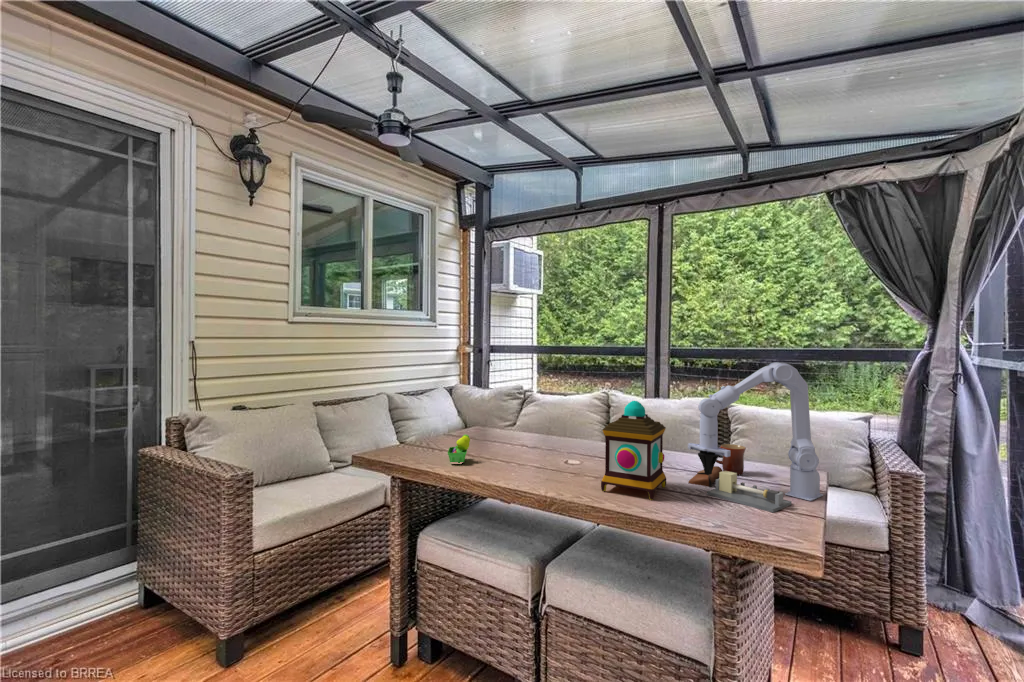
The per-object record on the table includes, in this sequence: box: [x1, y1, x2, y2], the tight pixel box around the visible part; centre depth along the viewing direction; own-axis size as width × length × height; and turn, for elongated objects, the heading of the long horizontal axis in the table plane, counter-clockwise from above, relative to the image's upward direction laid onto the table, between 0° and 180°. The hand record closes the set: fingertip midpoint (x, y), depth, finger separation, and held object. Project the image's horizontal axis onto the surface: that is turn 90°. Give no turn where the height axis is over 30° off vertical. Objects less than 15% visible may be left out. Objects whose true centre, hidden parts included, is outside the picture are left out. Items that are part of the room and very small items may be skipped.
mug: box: [715, 443, 747, 476], centre depth 184 cm, size 12×9×10 cm
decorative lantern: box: [600, 400, 667, 501], centre depth 162 cm, size 20×20×30 cm
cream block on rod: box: [718, 470, 738, 493], centre depth 158 cm, size 4×4×6 cm
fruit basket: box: [447, 434, 471, 463], centre depth 197 cm, size 11×9×11 cm
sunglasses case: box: [687, 465, 723, 488], centre depth 174 cm, size 18×7×7 cm, turn 146°
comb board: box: [706, 478, 792, 514], centre depth 152 cm, size 21×12×4 cm, turn 37°
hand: (708, 474), depth 163 cm, fingers closed
